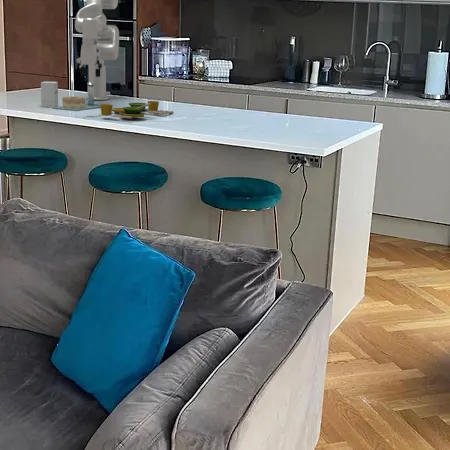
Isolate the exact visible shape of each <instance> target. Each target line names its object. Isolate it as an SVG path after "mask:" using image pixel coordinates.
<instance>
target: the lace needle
mask: <svg viewBox="0 0 450 450" xmlns="http://www.w3.org/2000/svg"><path fill="white" fill-rule="evenodd" d="M87 97H88V99H87V103H88V106H94V104H95V100H94V82H89V81H87Z"/></svg>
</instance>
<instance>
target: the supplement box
mask: <svg viewBox="0 0 450 450" xmlns="http://www.w3.org/2000/svg"><path fill="white" fill-rule="evenodd" d="M58 85H59V84H58V81H41V82H40V103H41V104H40V105H41V107H42V108H52V107H59V86H58Z"/></svg>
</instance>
